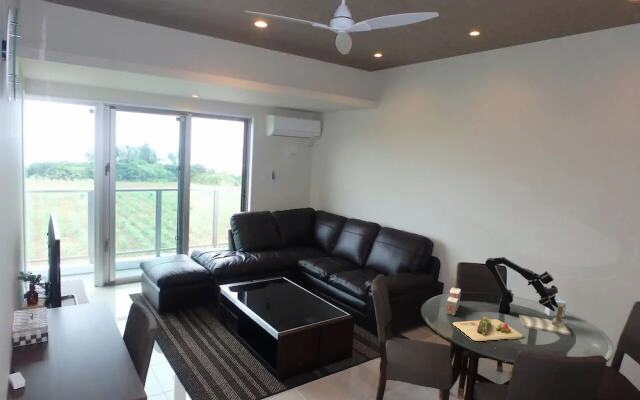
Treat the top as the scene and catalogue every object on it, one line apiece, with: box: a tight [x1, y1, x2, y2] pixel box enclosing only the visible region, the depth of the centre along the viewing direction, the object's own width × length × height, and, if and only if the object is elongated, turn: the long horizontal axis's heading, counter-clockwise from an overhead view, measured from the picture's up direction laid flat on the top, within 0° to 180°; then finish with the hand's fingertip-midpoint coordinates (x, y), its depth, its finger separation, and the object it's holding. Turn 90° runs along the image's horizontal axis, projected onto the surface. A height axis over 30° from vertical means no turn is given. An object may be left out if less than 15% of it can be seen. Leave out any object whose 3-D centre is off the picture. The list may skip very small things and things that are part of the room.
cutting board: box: [452, 316, 524, 342], centre depth 237 cm, size 35×23×8 cm
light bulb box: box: [544, 298, 567, 318], centre depth 268 cm, size 11×7×11 cm, turn 84°
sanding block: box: [551, 306, 566, 327], centre depth 249 cm, size 6×7×12 cm
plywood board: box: [518, 314, 572, 337], centre depth 250 cm, size 26×17×2 cm, turn 72°
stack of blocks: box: [444, 287, 462, 316], centre depth 267 cm, size 21×6×12 cm, turn 153°
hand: (556, 309), depth 250 cm, fingers open, 9 cm apart
